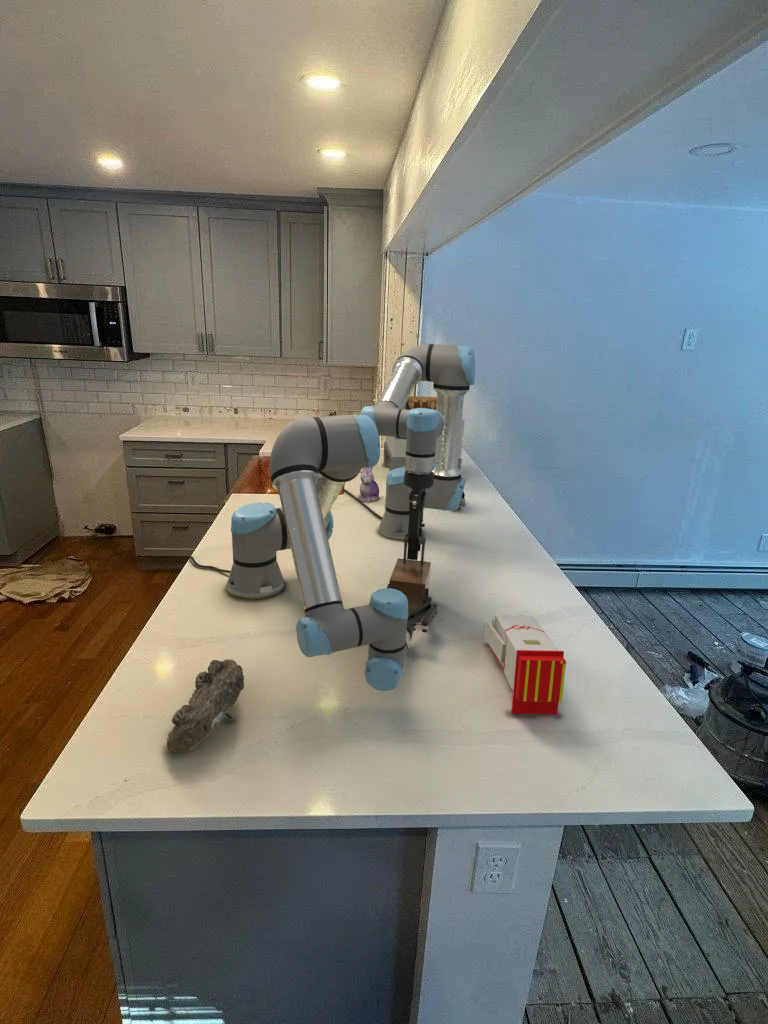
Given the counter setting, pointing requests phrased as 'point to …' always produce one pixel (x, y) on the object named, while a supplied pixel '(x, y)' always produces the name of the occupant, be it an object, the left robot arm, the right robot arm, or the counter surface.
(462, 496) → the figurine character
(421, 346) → the right robot arm
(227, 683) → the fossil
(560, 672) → the toy
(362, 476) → the figurine
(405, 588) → the brown hollow box
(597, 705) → the counter surface
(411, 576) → the lid
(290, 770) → the counter surface
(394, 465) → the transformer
